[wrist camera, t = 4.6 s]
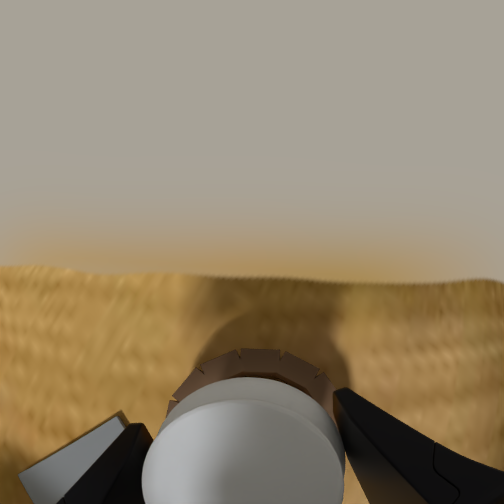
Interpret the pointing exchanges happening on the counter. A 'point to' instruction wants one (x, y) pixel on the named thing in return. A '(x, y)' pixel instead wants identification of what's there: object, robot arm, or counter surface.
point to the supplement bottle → (246, 448)
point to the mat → (68, 464)
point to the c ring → (260, 374)
